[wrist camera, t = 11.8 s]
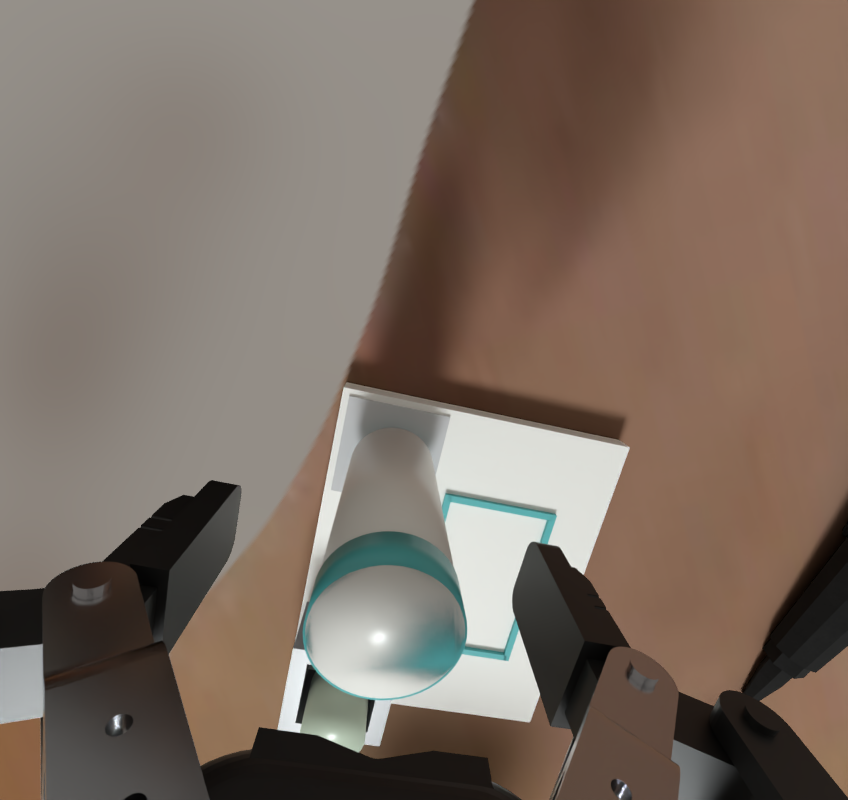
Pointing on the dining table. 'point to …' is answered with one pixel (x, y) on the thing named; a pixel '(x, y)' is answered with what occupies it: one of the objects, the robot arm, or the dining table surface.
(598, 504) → the white flat rectangular panel
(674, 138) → the dining table surface
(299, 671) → the button housing
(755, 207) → the dining table surface
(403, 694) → the marker
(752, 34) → the dining table surface
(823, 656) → the microphone
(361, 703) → the button
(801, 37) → the dining table surface
